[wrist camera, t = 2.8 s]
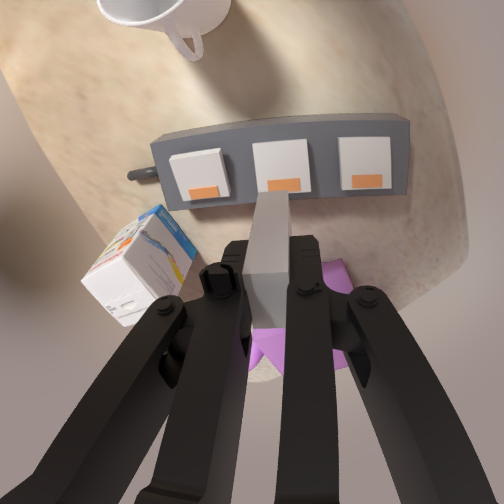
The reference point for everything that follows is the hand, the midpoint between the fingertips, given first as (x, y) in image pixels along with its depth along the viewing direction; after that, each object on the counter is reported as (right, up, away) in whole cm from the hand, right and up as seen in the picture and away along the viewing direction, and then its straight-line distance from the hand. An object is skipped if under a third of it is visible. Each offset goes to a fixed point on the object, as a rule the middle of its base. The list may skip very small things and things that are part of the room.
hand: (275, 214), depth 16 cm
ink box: (-14, 0, +25) cm, 29 cm away
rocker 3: (+9, +6, +11) cm, 16 cm away
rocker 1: (-6, +6, +13) cm, 16 cm away
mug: (-7, +22, +8) cm, 25 cm away
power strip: (-1, +9, +17) cm, 19 cm away
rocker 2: (+2, +6, +12) cm, 14 cm away
